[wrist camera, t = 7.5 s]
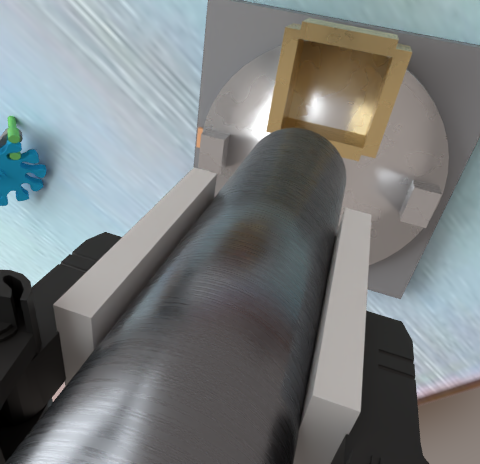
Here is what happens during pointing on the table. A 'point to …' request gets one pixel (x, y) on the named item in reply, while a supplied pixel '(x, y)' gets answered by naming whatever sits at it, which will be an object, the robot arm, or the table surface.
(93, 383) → the pin
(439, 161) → the silver disc with box
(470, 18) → the table surface
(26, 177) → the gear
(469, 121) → the nut plate
